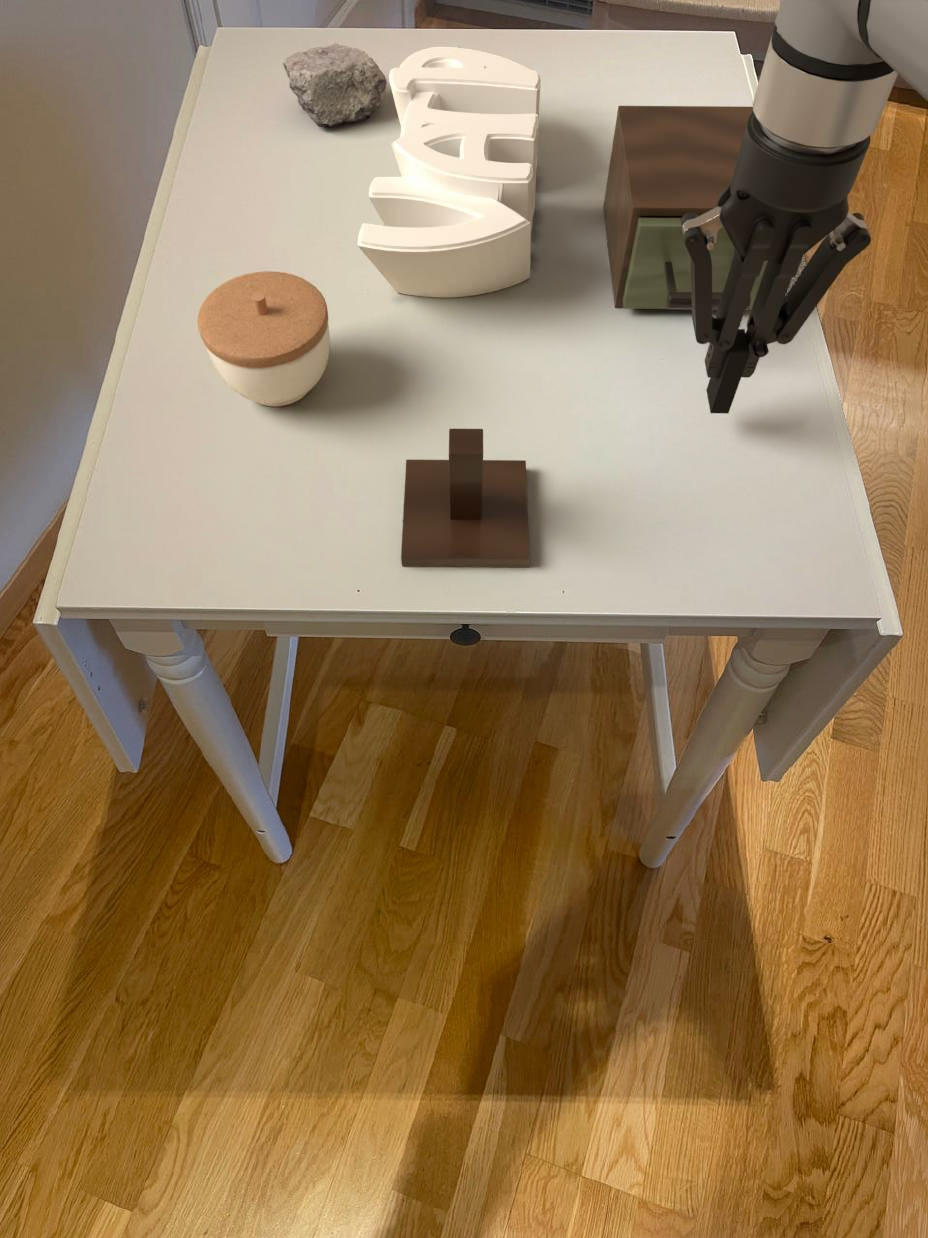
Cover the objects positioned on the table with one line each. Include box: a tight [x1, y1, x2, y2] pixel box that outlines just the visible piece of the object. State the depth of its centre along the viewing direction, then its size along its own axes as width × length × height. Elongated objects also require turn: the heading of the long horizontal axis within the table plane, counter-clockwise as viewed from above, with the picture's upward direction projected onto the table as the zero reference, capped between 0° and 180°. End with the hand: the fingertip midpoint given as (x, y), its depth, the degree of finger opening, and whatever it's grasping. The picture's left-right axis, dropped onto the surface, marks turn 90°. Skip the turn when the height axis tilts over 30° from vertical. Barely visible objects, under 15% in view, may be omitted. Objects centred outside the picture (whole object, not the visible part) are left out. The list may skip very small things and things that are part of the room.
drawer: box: [623, 216, 768, 311], centre depth 82 cm, size 20×12×9 cm, turn 0°
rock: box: [282, 42, 388, 128], centre depth 99 cm, size 11×8×10 cm
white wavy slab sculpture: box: [357, 46, 542, 298], centre depth 87 cm, size 35×16×11 cm, turn 172°
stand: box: [400, 428, 530, 568], centre depth 68 cm, size 10×10×9 cm
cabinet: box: [602, 105, 753, 309], centre depth 84 cm, size 16×14×11 cm
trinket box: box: [197, 270, 331, 407], centre depth 75 cm, size 11×11×9 cm
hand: (717, 401), depth 74 cm, fingers closed
